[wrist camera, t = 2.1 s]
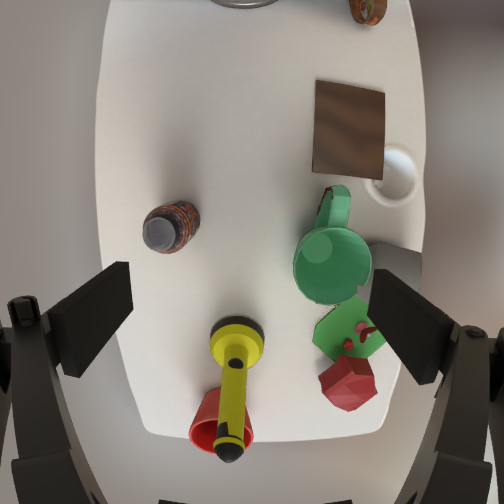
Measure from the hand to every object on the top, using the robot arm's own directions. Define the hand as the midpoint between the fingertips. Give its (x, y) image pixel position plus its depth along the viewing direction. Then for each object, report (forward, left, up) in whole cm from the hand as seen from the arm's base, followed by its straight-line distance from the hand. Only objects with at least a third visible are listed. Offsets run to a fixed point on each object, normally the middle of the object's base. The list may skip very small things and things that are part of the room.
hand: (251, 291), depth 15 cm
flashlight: (+20, -1, -29) cm, 35 cm away
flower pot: (+35, -3, -29) cm, 46 cm away
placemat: (-14, +14, -29) cm, 35 cm away
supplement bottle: (+1, -10, -29) cm, 31 cm away
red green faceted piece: (+20, +19, -29) cm, 40 cm away
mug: (+2, +10, -29) cm, 31 cm away
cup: (+7, +15, -26) cm, 31 cm away
